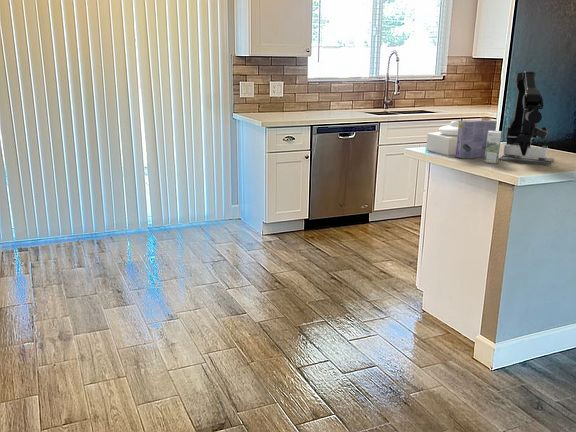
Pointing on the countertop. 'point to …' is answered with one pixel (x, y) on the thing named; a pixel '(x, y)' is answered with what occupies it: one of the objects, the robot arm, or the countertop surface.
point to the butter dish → (444, 140)
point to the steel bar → (530, 151)
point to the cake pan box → (473, 138)
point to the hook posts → (528, 156)
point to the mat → (524, 161)
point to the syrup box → (493, 146)
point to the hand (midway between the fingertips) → (524, 154)
